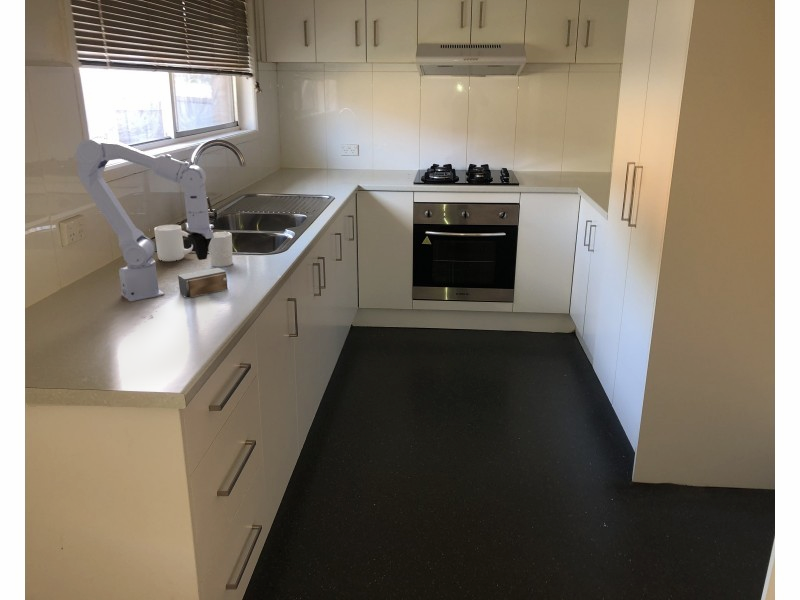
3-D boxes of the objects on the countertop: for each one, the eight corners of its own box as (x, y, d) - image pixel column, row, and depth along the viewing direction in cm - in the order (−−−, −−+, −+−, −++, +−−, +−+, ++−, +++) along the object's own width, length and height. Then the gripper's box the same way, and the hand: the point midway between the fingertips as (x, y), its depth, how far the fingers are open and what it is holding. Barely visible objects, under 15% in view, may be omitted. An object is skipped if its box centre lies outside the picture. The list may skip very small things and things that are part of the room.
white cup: (239, 263, 211) (236, 233, 207) (221, 268, 204) (218, 238, 201) (222, 259, 215) (219, 230, 211) (204, 265, 208) (201, 235, 205)
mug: (192, 261, 213) (188, 229, 210) (155, 262, 212) (151, 230, 209) (197, 254, 221) (193, 224, 218) (161, 255, 220) (157, 225, 217)
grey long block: (186, 297, 177) (184, 279, 175) (180, 293, 181) (177, 275, 179) (227, 289, 184) (225, 271, 183) (220, 285, 188) (218, 267, 186)
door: (188, 298, 176) (186, 282, 174) (186, 297, 177) (184, 280, 175) (229, 289, 183) (227, 274, 181) (226, 288, 184) (224, 272, 182)
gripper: (222, 213, 171) (226, 261, 175) (200, 205, 182) (205, 251, 186) (196, 216, 167) (202, 266, 171) (176, 208, 177) (182, 255, 182)
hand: (202, 259), depth 178 cm, fingers closed
